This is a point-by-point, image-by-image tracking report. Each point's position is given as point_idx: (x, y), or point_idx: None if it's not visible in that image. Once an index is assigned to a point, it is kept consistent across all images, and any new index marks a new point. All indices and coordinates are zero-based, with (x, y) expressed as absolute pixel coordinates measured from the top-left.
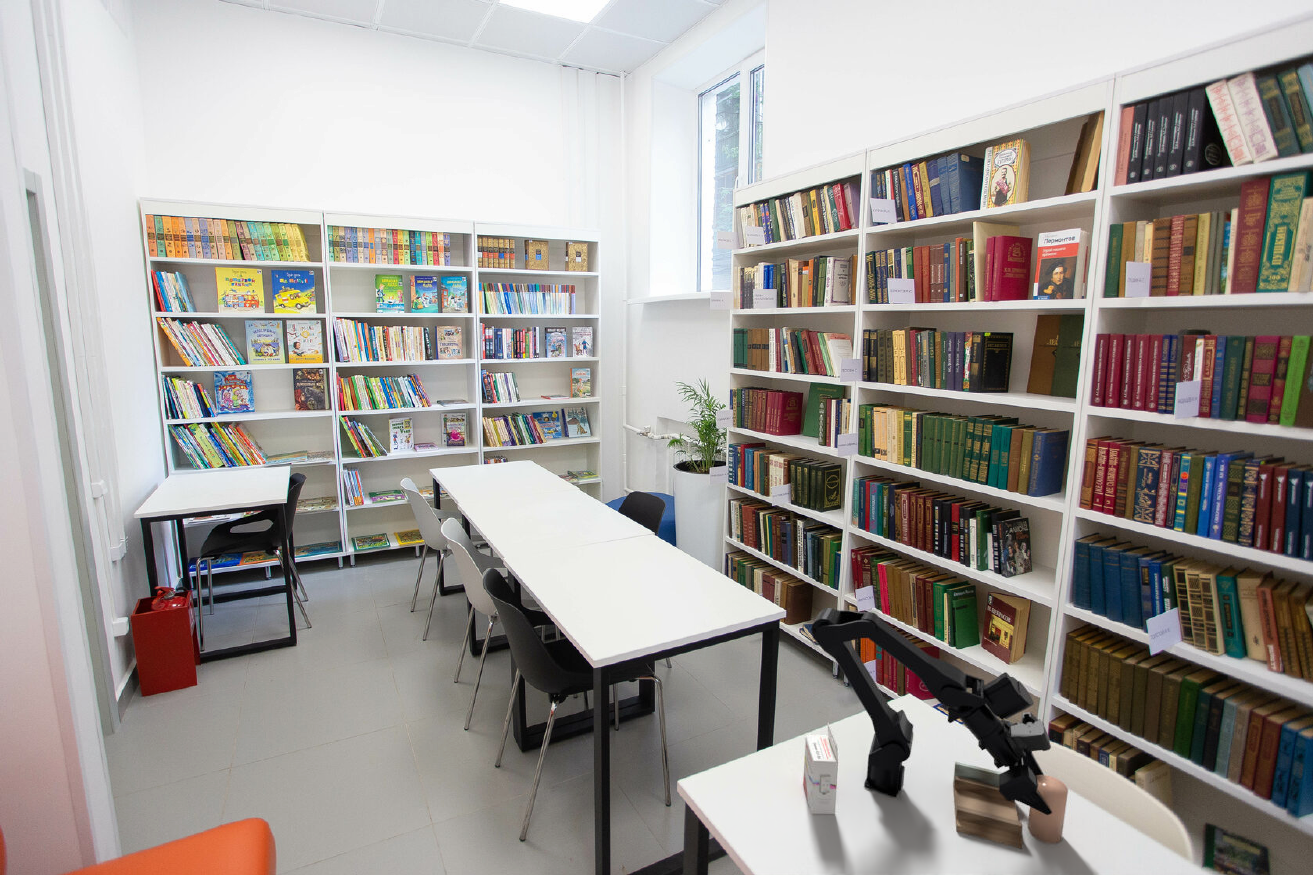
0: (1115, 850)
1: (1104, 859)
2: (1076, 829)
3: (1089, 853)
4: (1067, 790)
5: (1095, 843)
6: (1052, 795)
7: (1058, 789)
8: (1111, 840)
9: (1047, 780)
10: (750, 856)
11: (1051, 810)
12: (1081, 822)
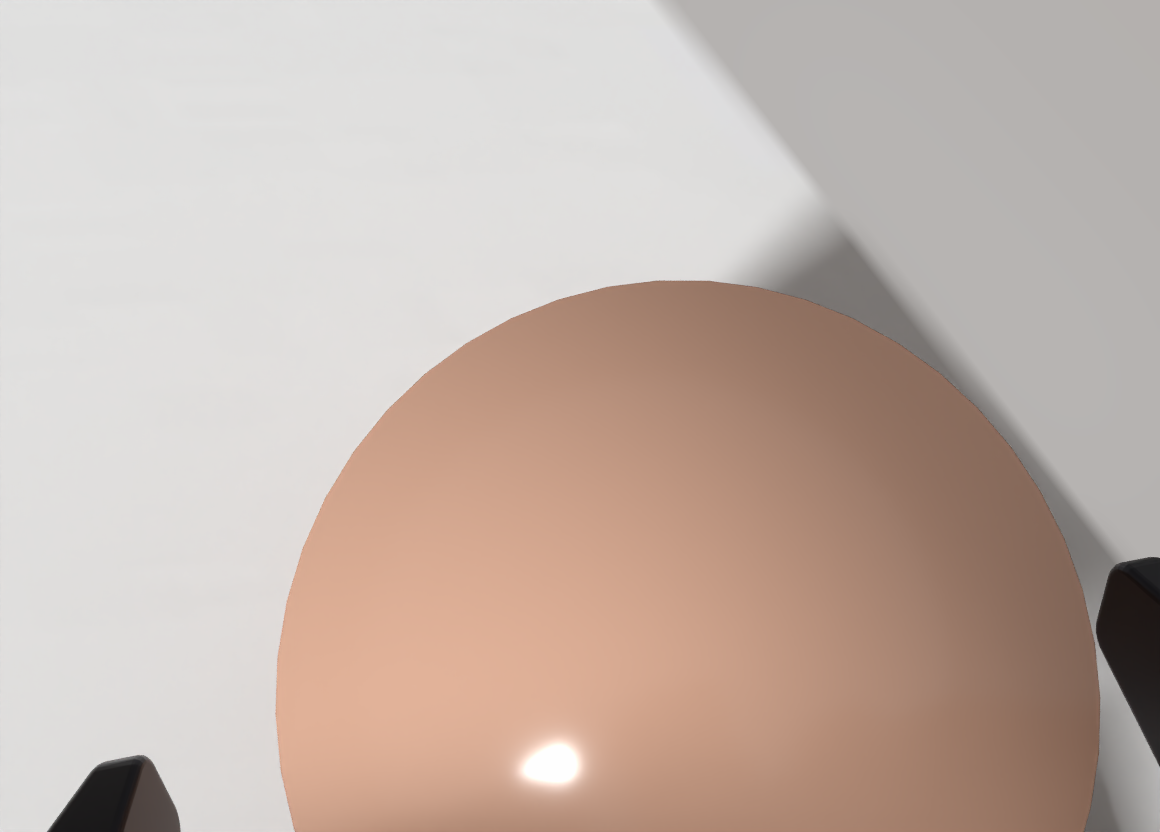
0: (428, 5)
1: (641, 90)
2: (317, 344)
3: (644, 213)
4: (661, 291)
5: (439, 168)
6: (1072, 585)
7: (770, 479)
8: (285, 36)
9: (541, 767)
10: None
11: (1140, 570)
12: (150, 304)
